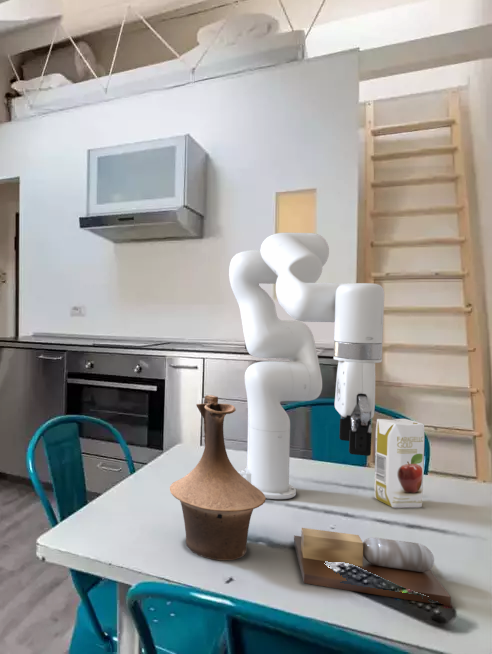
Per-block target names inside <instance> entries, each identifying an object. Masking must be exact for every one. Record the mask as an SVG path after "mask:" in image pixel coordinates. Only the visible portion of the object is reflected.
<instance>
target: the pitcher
mask: <svg viewBox="0 0 492 654" xmlns="http://www.w3.org/2000/svg"><path fill="white" fill-rule="evenodd" d="M196 408H197V409H198V411H199V413H200V414H201V416H202V418H203V434H204V435H203V437H204V439H203V440H204V449H203V453H202V456H201V458H200V459H199V461H198V463H197V464H196V466H194V468H193V469H192V470H190V472H189V473H187V474H186V475H184V476H183V477H181V478H180V479H178V480H175V481H174V482H172V483H171V484H170V486H169V492H170V494H171V495H172V496H173V497H174V499H176V500H178V501H179V502H180V505H181V510H182V516H183V523H184V529H185V545H186V547H187V548H188V550H190V551H191V552H192V553H194V554H196V555H198V556H200V557H203V558H207V559H211V560H215V561H216V560H217V561H230V560H231V561H233V560H237V559H240V558H242V557H244V556H245V555H246V554H247V551H248V549H247V544H248V543H247V542H248V534H249V528H250V523H251V518H252V515H253V511H254V510H255V509H257V508H259V507H261V506H263V505H264V504H265V503H266V499H267V498H265V495H264V494H263V493H262V492H261V491H260V490H259V489H258V488H256V487H255V486H254V485H252V484H251V483H250V482H248V481H247V480H246V479H245V478H244V477H242V476H241V475H240V474H239V473H238V472H237V471H238V470H236V468H235V467H234V465H233V464H232V462H231V460H230V458H229V456H228V453H227V452H228V451H227V449H226V444H225V443H226V442H225V434H224V421H225V417H226V415H230V414H233V413H235V412H236V411H237V409H236V407H235V406H234V405H232V404H229V403H219V397H218V396H216V395H213V394H206V395H205V396H204V400H203V403H196Z"/></svg>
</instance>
